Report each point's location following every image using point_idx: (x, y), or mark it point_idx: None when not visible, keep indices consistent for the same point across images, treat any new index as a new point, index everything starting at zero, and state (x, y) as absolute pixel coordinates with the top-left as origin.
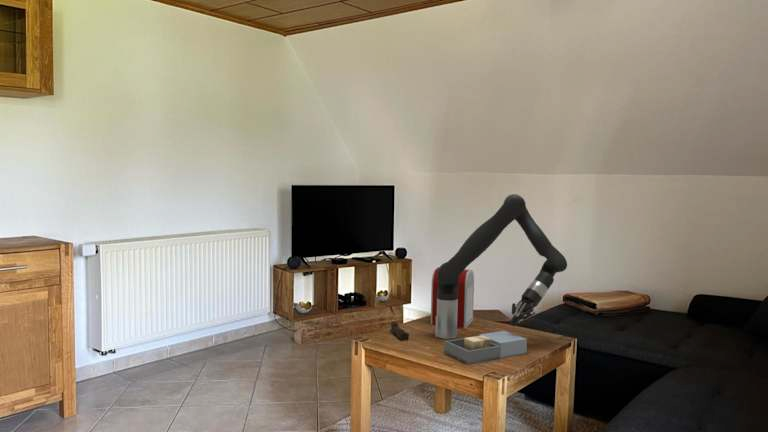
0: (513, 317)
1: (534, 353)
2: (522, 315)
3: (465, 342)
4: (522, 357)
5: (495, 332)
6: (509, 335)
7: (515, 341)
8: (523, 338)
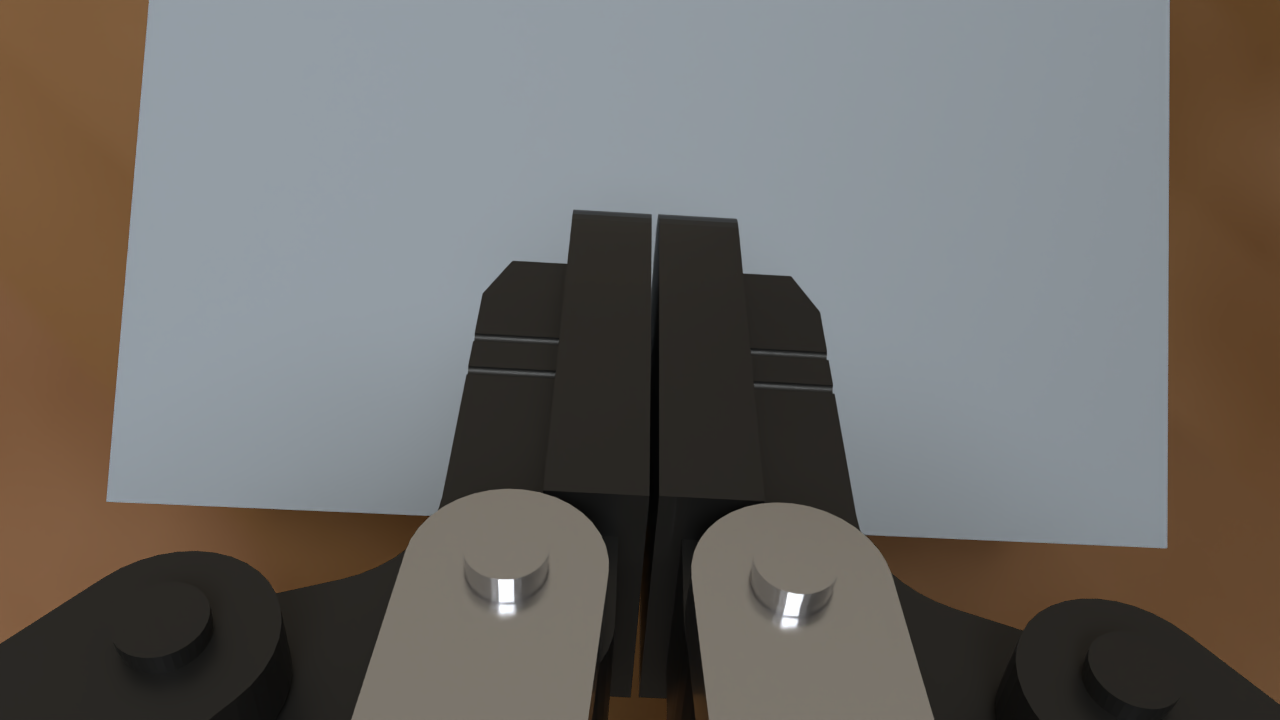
0: (731, 423)
1: None
2: (22, 635)
3: None
4: (76, 194)
5: (1128, 144)
6: None
7: (155, 58)
8: (195, 438)
